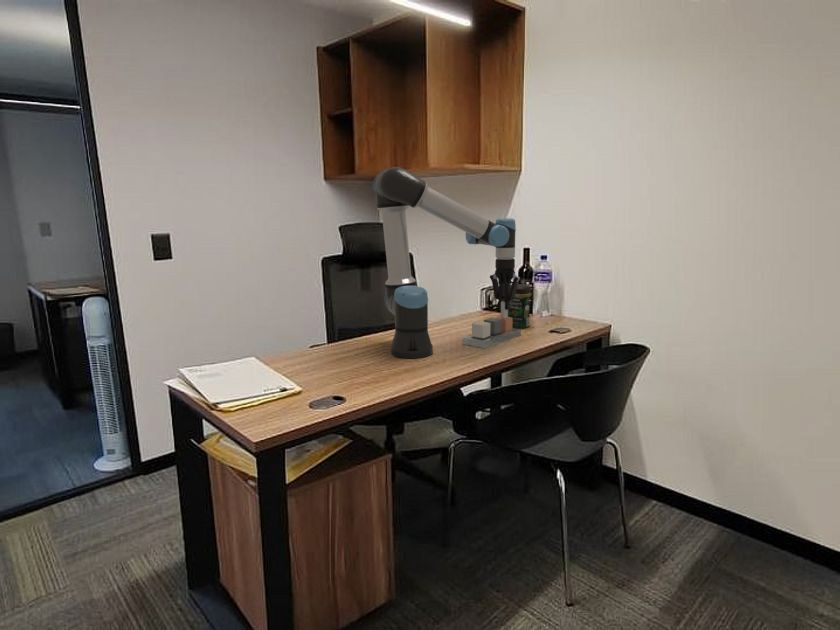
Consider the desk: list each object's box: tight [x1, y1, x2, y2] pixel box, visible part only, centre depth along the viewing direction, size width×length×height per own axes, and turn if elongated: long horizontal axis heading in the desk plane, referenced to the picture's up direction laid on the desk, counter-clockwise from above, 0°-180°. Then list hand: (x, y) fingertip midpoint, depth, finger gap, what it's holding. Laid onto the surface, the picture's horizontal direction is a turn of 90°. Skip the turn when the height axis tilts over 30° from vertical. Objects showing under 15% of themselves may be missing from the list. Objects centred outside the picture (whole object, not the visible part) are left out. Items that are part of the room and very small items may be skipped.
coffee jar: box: [508, 283, 532, 329], centre depth 222 cm, size 10×8×19 cm
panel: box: [462, 327, 522, 349], centre depth 202 cm, size 26×10×2 cm, turn 139°
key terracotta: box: [495, 316, 513, 332], centre depth 207 cm, size 5×5×5 cm
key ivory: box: [471, 320, 490, 338], centre depth 196 cm, size 5×5×5 cm
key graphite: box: [483, 317, 502, 334], centre depth 201 cm, size 5×5×5 cm
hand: (504, 317), depth 207 cm, fingers closed
